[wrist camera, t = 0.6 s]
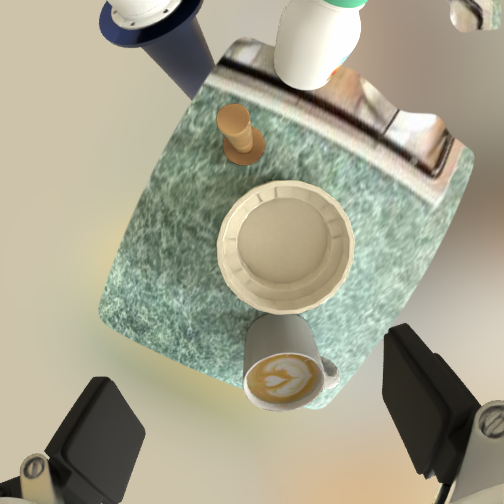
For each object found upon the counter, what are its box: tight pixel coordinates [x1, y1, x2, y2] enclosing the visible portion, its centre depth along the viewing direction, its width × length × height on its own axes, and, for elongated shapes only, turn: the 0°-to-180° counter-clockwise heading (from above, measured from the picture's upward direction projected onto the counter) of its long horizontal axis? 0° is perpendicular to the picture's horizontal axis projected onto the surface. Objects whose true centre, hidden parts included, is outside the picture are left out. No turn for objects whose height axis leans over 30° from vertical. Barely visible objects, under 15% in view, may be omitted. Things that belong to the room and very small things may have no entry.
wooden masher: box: [216, 103, 265, 166], centre depth 25 cm, size 5×5×17 cm
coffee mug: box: [243, 313, 340, 412], centre depth 36 cm, size 13×10×10 cm
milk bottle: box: [274, 0, 368, 90], centre depth 21 cm, size 8×8×20 cm
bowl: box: [217, 180, 355, 315], centre depth 34 cm, size 15×15×6 cm
